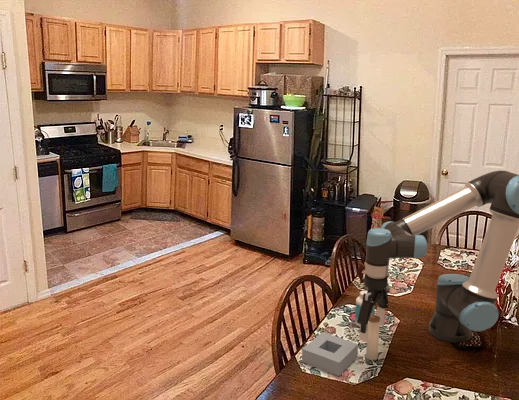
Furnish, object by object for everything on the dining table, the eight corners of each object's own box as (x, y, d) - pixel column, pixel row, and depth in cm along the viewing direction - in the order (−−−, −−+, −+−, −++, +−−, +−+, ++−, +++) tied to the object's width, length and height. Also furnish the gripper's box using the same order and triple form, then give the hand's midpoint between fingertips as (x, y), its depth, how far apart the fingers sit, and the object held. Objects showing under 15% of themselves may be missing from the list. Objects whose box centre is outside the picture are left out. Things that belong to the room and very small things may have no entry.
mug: (390, 296, 212) (386, 264, 209) (358, 297, 216) (354, 266, 214) (392, 286, 222) (388, 256, 220) (361, 287, 227) (357, 257, 225)
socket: (357, 357, 165) (358, 344, 164) (338, 376, 154) (339, 362, 153) (322, 344, 173) (322, 332, 172) (302, 361, 162) (302, 348, 161)
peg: (379, 356, 165) (381, 317, 162) (374, 361, 162) (377, 321, 159) (368, 352, 168) (370, 313, 164) (364, 357, 165) (366, 318, 161)
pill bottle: (374, 329, 183) (376, 297, 180) (354, 328, 185) (356, 296, 182) (373, 320, 190) (375, 289, 187) (354, 319, 192) (356, 288, 189)
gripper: (380, 261, 170) (376, 315, 175) (349, 283, 150) (345, 343, 155) (400, 266, 165) (396, 321, 170) (371, 289, 146) (366, 351, 151)
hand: (372, 332), depth 163 cm, fingers open, 13 cm apart
